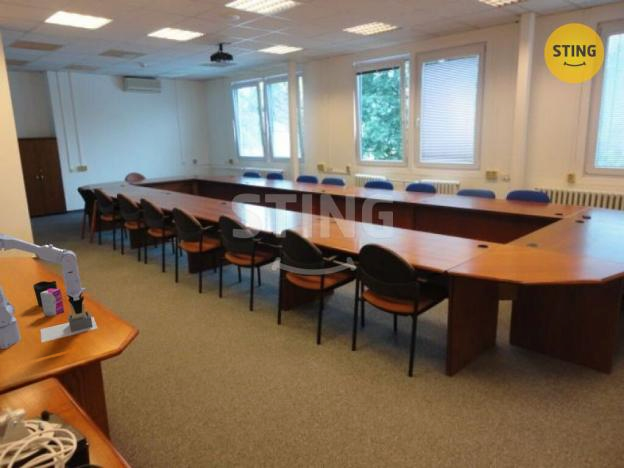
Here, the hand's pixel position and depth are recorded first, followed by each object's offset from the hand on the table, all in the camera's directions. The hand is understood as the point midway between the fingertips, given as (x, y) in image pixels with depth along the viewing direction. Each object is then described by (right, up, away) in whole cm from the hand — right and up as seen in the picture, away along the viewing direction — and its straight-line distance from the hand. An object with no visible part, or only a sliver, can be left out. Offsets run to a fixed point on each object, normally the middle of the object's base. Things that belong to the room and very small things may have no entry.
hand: (78, 311), depth 182 cm
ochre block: (0, -1, 0) cm, 2 cm away
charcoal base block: (0, -6, +2) cm, 7 cm away
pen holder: (-31, -2, +31) cm, 43 cm away
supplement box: (-20, -5, +17) cm, 26 cm away
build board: (-3, -8, 0) cm, 9 cm away
